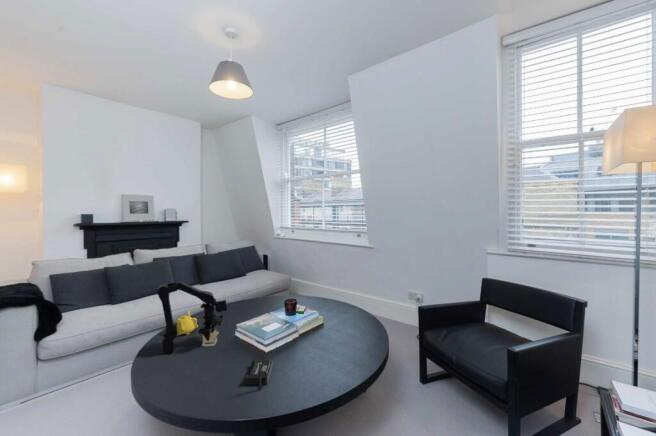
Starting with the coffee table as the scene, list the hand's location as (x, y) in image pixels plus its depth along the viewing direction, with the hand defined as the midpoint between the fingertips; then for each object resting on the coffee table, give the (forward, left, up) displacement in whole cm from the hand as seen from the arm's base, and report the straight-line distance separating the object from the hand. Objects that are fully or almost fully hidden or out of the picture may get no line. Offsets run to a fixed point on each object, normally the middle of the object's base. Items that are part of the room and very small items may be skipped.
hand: (209, 338), depth 176 cm
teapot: (+17, +21, -3) cm, 27 cm away
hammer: (+5, 0, -3) cm, 6 cm away
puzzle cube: (+27, -54, -4) cm, 61 cm away
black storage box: (-38, -36, -4) cm, 53 cm away
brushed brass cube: (0, 0, -1) cm, 1 cm away
